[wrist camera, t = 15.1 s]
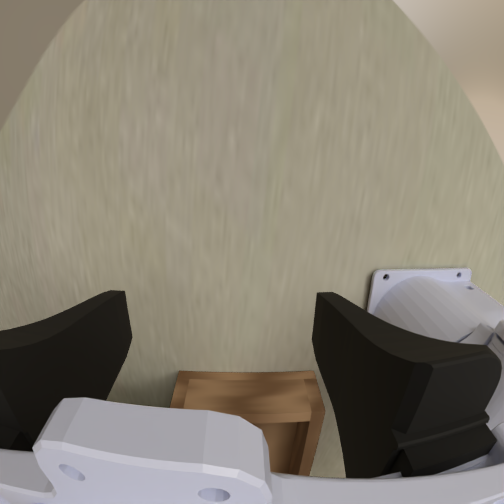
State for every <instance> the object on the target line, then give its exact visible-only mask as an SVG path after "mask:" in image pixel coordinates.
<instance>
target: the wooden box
mask: <svg viewBox="0 0 504 504" xmlns="http://www.w3.org/2000/svg"><path fill="white" fill-rule="evenodd" d="M170 408H177V409H193V410H210V411H215V412H220V413H226V414H231V415H236V416H240V417H241V418H243V419H245V420H246V421H248V422H249V423H251V424H253V425H254V426H256V427H258V428H259V429H261V430H262V432H263V435H264V437H265V440H266V442H267V445H268V450H269V461H270V472H276V473H284V474H293V475H303V476H309V474H310V471H311V467H312V463H313V460H314V456H315V452H316V448H317V444H318V440H319V436H320V432H321V428H322V423H323V419H324V415H325V408H324V404H323V401H322V397H321V394H320V390H319V387H318V383H317V380H316V376H315V373H314V371H298V372H260V373H233V372H195V371H179V373H178V377H177V381H176V385H175V389H174V393H173V397H172V401H171V404H170Z"/></svg>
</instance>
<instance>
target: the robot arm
mask: <svg viewBox="0 0 504 504" xmlns="http://www.w3.org/2000/svg"><path fill="white" fill-rule="evenodd" d="M458 273H459V274H458ZM385 274H387V277H386V278H385V279H383V276H384V275H385ZM457 274H458V276H457ZM471 275H472V272H471V270H470V269H469V268H433V269H379V270H376V271H375V272H374V273H373V275H372V282H371V288H370V294H369V300H368V306H367V311H365V310H363V309H362V308H360V307H358V306H357V305H355V304H353V303H352V302H350V301H348V300H347V299H345V298H343V297H342V296H340V295H338V294H336V293H334V292H319V293H317V297H316V307H315V316H314V325H313V334H312V343H313V348H314V353H315V357H316V361H317V364H318V367H319V370H320V373H321V375H322V378H323V381H324V383H325V386H326V389H327V392H328V394H329V397H330V400H331V402H332V406H333V409H334V412H335V417H336V421H337V426H338V431H339V436H340V441H341V447H342V452H343V458H344V465H345V472H346V478H330V477H315V476H303V475H293V474H284V473H276V472H270V461H269V450H268V445H267V442H266V440H265V437H264V435H263V432H262V430H261V429H259V428H258V427H256V426H254V425H253V424H251V423H249V422H248V421H246V420H245V419H243V418H241V417H240V416H236V415H231V414H226V413H220V412H215V411H210V410H193V409H177V408H164V407H153V406H143V405H134V404H126V403H118V402H111V401H106V399H107V397H108V395H109V393H110V391H111V388H112V386H113V384H114V382H115V380H116V378H117V376H118V374H119V372H120V370H121V367H122V365H123V363H124V361H125V359H126V357H127V354H128V350H129V347H130V344H131V340H132V331H131V326H130V320H129V315H128V308H127V302H126V296H125V291H114V290H110V291H107V292H104V293H101V294H99V295H97V296H95V297H92V298H90V299H88V300H86V301H84V302H82V303H80V304H78V305H76V306H74V307H72V308H70V309H67V310H65V311H63V312H61V313H59V314H56V315H54V316H52V317H49V318H47V319H44V320H41V321H38V322H35V323H32V324H29V325H25V326H21V327H17V328H13V329H8V330H3V331H0V504H504V306H503V305H502V304H500V303H499V302H498V301H496V300H495V299H494V298H492V297H491V296H490V295H488V294H487V293H486V292H484V291H483V290H481V289H480V288H479V287H477V286H476V285H474V284H473V283H472V282H470V279H471Z"/></svg>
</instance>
